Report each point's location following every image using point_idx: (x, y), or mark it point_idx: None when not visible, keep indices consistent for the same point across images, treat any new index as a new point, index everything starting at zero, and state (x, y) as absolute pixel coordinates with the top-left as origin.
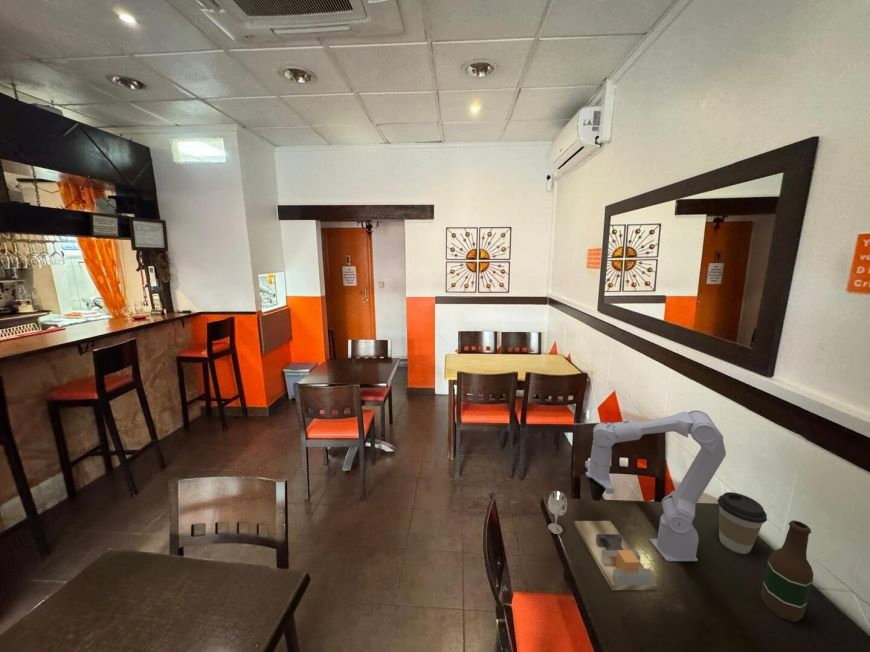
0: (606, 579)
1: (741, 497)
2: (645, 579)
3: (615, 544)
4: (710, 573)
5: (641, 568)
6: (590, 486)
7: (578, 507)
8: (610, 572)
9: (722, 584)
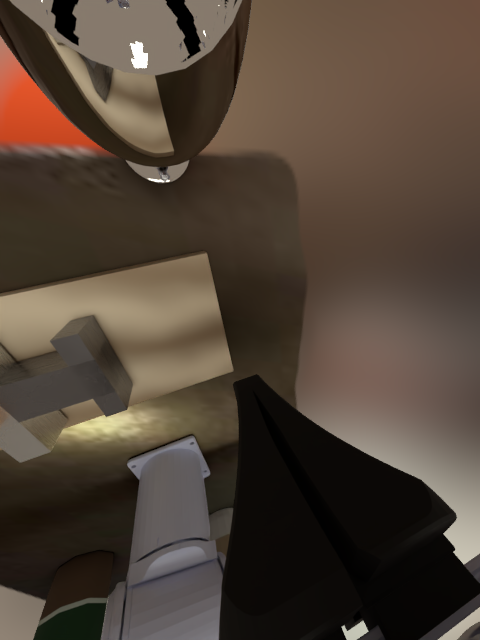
0: None
1: None
2: None
3: (42, 397)
4: (128, 507)
5: None
6: (307, 433)
7: (295, 286)
8: None
9: (103, 520)
